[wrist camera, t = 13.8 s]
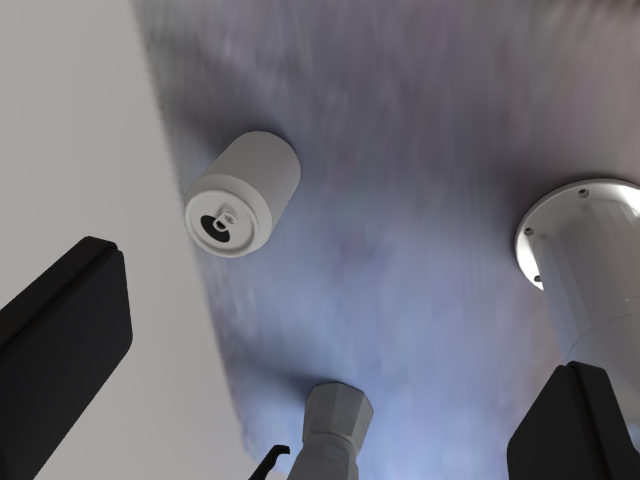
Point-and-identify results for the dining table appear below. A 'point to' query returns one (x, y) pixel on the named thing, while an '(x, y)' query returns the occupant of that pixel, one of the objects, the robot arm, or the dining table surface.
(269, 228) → the can
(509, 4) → the dining table surface
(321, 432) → the coffeepot
